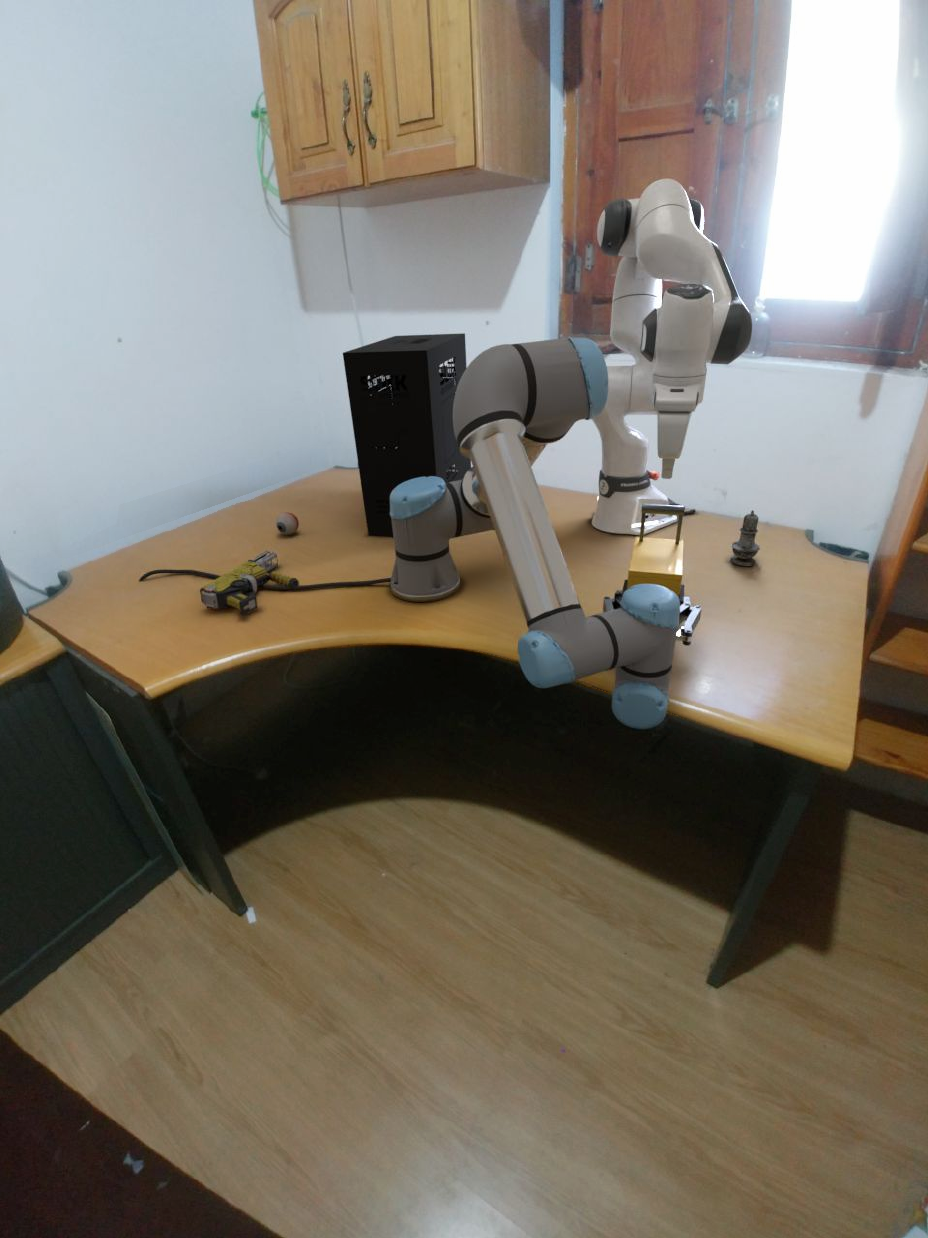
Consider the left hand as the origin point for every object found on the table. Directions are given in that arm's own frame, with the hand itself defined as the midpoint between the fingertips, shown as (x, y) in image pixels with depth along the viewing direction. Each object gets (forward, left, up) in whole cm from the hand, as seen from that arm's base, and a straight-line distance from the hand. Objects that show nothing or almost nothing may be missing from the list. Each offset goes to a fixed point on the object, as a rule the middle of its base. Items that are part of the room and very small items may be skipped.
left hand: (653, 588), depth 113 cm
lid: (0, +4, +4) cm, 6 cm away
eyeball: (-96, +25, -7) cm, 100 cm away
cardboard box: (-66, +48, -7) cm, 82 cm away
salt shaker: (+19, +31, -7) cm, 37 cm away
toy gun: (-83, -6, -7) cm, 84 cm away
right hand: (0, +10, +20) cm, 22 cm away
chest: (0, +4, -7) cm, 8 cm away
